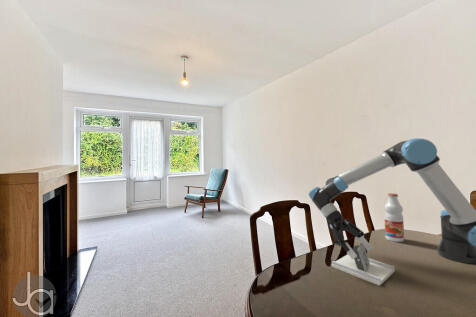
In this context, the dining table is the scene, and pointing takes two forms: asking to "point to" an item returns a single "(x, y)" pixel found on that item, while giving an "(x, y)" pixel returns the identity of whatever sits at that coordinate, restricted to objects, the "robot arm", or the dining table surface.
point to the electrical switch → (361, 257)
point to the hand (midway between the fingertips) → (363, 254)
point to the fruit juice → (394, 219)
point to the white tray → (374, 273)
